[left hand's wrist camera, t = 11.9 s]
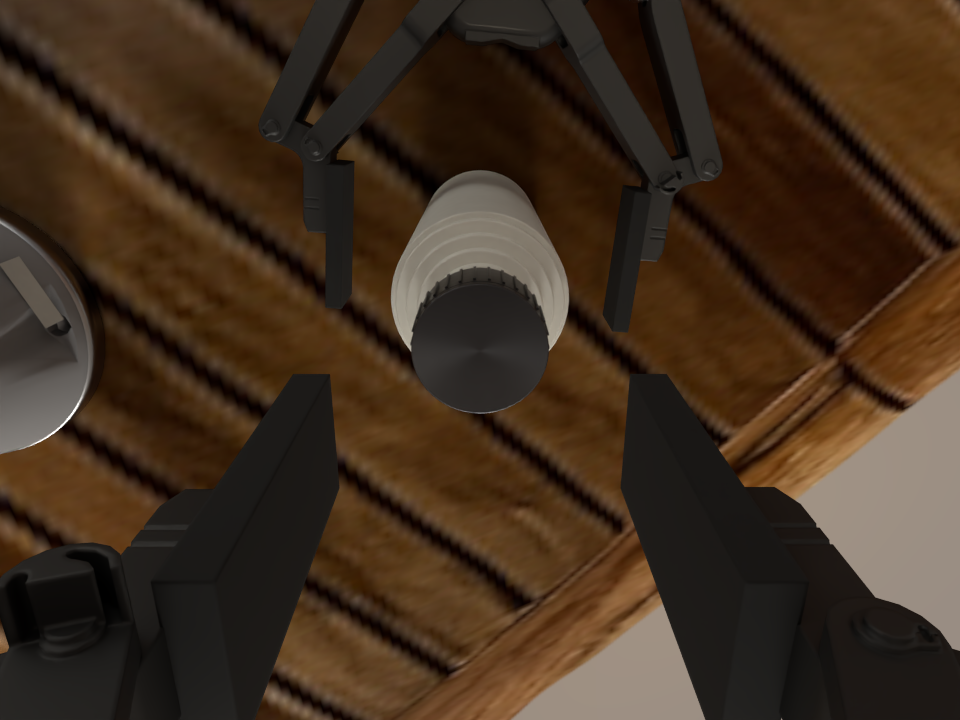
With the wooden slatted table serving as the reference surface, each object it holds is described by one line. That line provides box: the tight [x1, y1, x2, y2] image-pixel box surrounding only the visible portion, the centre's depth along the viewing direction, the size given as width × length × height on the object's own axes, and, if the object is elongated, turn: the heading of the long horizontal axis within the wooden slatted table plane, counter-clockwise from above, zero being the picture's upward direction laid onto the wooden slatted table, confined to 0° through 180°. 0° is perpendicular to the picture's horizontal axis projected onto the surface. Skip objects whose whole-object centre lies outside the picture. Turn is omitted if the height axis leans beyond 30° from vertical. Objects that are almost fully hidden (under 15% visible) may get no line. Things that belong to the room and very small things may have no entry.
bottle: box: [391, 170, 569, 351], centre depth 29 cm, size 6×6×20 cm
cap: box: [410, 266, 550, 413], centre depth 20 cm, size 4×4×2 cm
